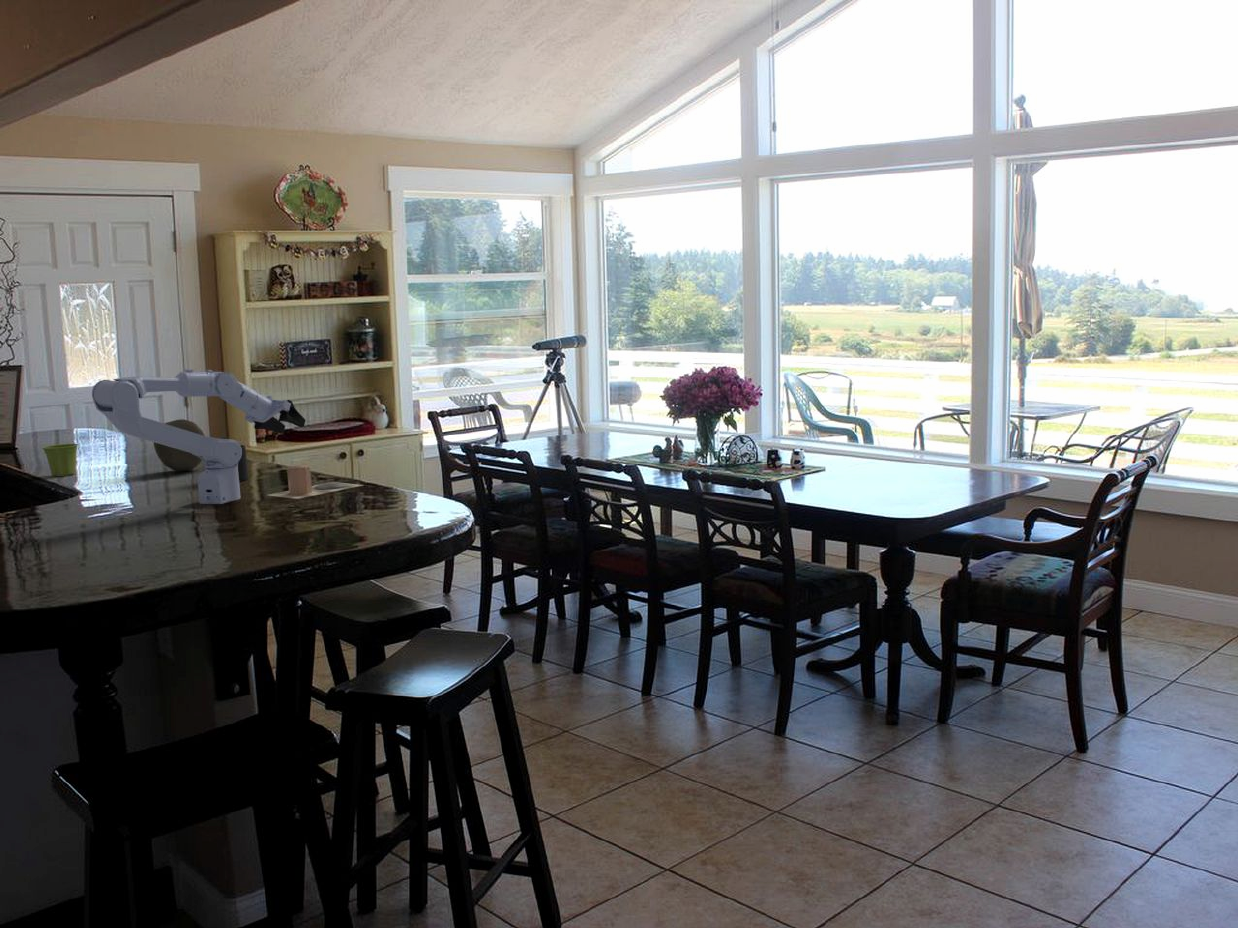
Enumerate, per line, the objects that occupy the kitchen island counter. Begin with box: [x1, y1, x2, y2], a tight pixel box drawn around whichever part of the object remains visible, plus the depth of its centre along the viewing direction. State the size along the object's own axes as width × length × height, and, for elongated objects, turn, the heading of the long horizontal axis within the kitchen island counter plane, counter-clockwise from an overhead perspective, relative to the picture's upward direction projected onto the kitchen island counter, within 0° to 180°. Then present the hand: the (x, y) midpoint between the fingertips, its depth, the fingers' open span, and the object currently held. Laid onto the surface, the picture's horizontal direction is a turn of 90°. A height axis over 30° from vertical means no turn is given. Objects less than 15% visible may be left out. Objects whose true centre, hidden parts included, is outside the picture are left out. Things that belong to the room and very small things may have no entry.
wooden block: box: [286, 464, 313, 495], centre depth 281 cm, size 5×5×6 cm
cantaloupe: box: [153, 418, 206, 472], centre depth 334 cm, size 14×14×15 cm
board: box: [267, 481, 364, 500], centre depth 285 cm, size 20×12×1 cm, turn 142°
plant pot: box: [41, 443, 79, 477], centre depth 339 cm, size 9×9×9 cm
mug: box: [238, 444, 249, 483], centre depth 314 cm, size 9×12×9 cm
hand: (293, 426), depth 291 cm, fingers open, 7 cm apart
